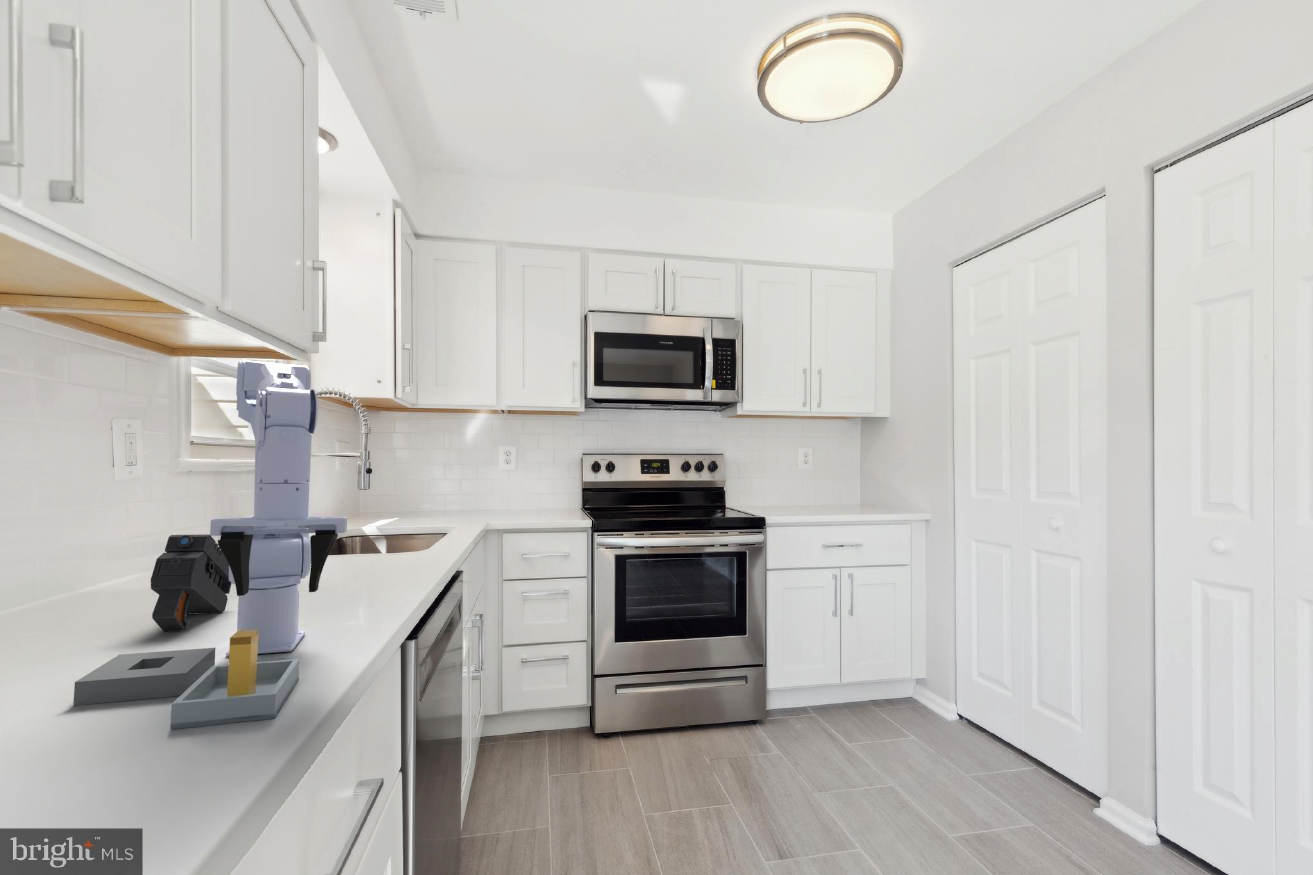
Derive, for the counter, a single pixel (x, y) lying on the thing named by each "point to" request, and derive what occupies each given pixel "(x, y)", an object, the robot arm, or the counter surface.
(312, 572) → the robot arm
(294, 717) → the counter surface
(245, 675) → the block
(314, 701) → the counter surface
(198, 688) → the parts tray
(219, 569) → the tool
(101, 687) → the socket block
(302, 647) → the counter surface
